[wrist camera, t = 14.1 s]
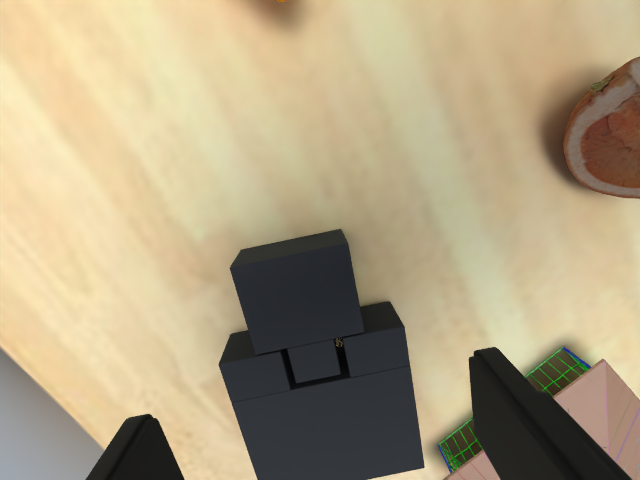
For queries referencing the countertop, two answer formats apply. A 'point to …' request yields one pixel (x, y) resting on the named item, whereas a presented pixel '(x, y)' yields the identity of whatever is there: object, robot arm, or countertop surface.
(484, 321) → the countertop surface
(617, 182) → the fruit slice
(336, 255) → the tab pad
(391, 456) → the notch pad
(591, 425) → the house
